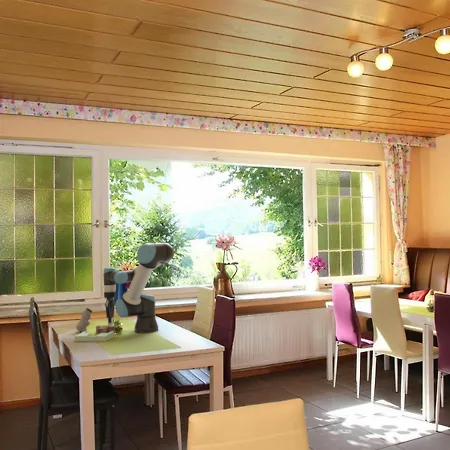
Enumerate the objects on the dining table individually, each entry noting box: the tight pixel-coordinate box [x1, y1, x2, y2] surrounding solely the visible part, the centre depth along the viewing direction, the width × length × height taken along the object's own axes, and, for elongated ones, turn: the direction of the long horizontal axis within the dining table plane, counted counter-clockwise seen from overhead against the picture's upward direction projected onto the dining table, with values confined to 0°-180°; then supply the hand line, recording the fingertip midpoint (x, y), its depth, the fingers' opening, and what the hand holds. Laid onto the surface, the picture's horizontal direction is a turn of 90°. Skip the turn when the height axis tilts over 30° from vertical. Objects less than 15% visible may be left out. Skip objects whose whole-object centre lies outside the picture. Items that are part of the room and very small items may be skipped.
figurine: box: [75, 307, 93, 333], centre depth 340 cm, size 9×10×15 cm
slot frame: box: [74, 331, 115, 342], centre depth 316 cm, size 19×14×3 cm
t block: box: [95, 324, 117, 335], centre depth 332 cm, size 12×12×4 cm
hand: (110, 327), depth 344 cm, fingers closed
